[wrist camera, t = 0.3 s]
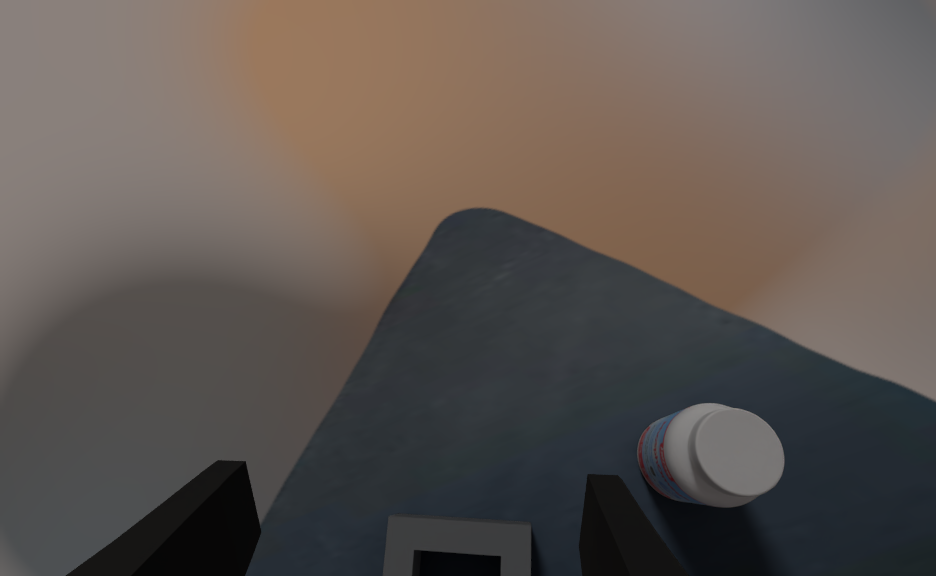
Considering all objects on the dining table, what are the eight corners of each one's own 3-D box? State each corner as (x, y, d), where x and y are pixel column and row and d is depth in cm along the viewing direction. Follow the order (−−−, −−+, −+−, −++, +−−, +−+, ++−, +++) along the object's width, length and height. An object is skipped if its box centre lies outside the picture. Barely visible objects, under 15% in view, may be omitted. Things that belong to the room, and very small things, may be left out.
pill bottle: (624, 428, 38) (663, 409, 28) (699, 408, 38) (767, 381, 28) (653, 511, 36) (708, 524, 26) (733, 490, 36) (821, 494, 26)
